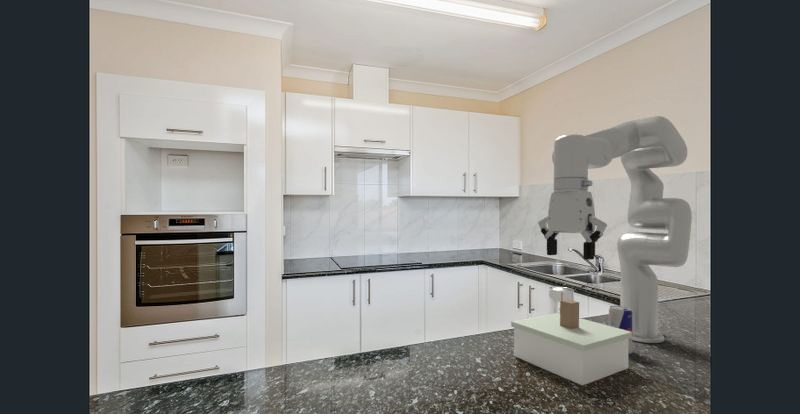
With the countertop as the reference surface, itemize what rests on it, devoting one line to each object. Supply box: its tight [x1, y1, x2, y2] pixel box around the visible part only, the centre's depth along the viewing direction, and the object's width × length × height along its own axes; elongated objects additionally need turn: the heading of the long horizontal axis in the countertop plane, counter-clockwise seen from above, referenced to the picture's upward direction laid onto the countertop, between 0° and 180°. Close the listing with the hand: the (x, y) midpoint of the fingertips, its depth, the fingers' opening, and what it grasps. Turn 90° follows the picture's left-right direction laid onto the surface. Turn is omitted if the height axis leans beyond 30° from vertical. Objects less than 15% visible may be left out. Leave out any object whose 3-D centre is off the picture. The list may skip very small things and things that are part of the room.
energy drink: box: [608, 305, 633, 356], centre depth 96 cm, size 5×5×12 cm
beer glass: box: [547, 285, 575, 314], centre depth 105 cm, size 7×7×15 cm
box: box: [513, 327, 629, 386], centre depth 87 cm, size 18×18×8 cm
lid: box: [510, 300, 632, 351], centre depth 88 cm, size 19×19×7 cm
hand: (569, 257), depth 88 cm, fingers open, 9 cm apart
